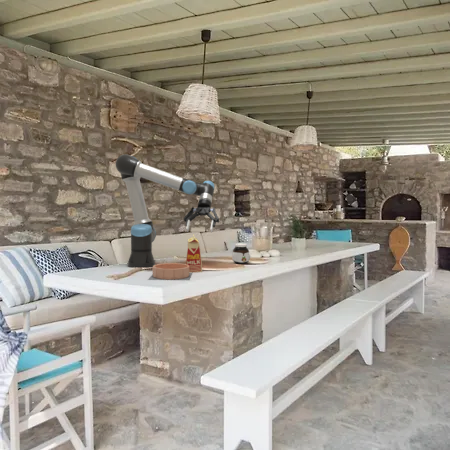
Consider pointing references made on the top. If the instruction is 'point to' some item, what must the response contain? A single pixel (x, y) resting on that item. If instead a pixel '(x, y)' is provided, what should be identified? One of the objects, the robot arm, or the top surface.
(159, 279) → the placemat
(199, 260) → the milk carton
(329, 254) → the top surface
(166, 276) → the bowl
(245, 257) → the spread jar
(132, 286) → the top surface
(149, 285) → the top surface
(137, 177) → the robot arm
